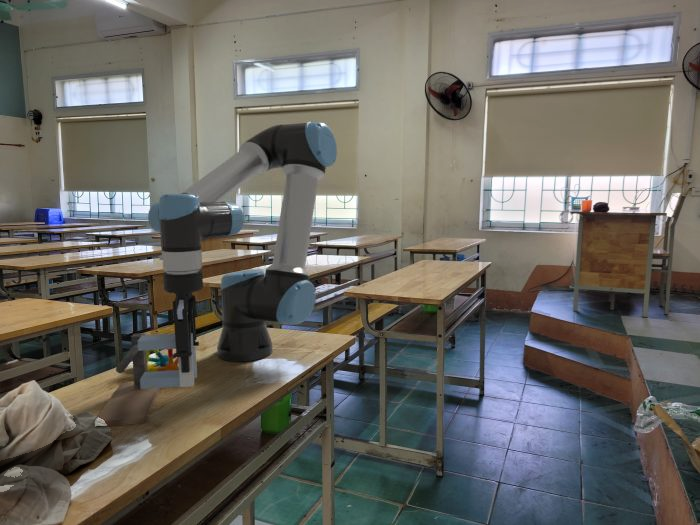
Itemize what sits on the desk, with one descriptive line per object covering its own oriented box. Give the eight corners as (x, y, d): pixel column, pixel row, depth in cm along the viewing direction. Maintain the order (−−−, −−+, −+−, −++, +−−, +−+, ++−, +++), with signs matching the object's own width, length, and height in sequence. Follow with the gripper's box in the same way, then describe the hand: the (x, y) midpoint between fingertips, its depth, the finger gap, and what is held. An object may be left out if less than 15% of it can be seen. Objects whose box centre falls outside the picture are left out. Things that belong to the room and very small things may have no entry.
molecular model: (163, 376, 131) (201, 346, 127) (145, 398, 122) (187, 367, 118) (132, 346, 129) (170, 315, 125) (112, 367, 119) (153, 334, 115)
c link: (194, 378, 104) (192, 332, 103) (192, 385, 101) (190, 338, 99) (145, 381, 103) (142, 335, 101) (140, 388, 99) (137, 341, 97)
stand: (162, 385, 115) (158, 331, 113) (143, 423, 96) (139, 359, 94) (121, 388, 113) (117, 333, 111) (94, 427, 95) (89, 362, 93)
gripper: (170, 265, 106) (176, 368, 110) (154, 279, 90) (162, 400, 93) (206, 264, 108) (211, 365, 111) (196, 277, 91) (202, 397, 95)
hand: (188, 381), depth 102 cm, fingers closed on c link, 4 cm apart
